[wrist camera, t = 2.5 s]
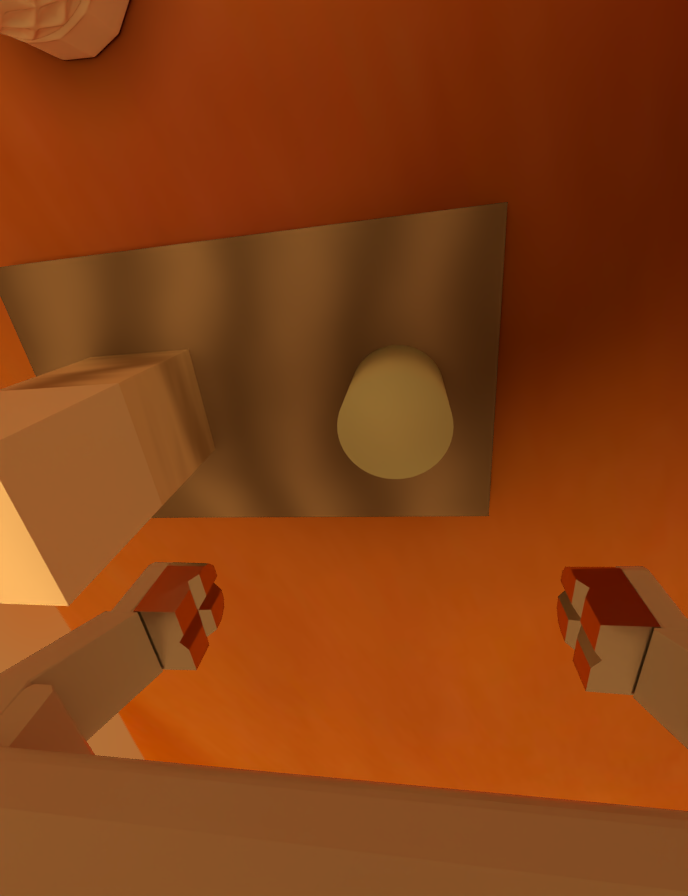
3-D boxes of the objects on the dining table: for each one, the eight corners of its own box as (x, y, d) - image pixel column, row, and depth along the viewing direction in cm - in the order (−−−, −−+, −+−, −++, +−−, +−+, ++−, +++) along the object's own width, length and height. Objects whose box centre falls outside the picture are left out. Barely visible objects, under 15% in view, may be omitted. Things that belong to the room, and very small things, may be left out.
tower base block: (188, 349, 22) (118, 383, 17) (215, 449, 24) (162, 505, 19) (90, 357, 23) (-5, 391, 18) (126, 452, 26) (52, 506, 20)
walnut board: (500, 204, 18) (507, 201, 17) (484, 501, 25) (488, 516, 24) (12, 267, 23) (-12, 268, 21) (112, 505, 30) (99, 517, 28)
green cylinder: (443, 341, 20) (454, 369, 15) (443, 430, 22) (452, 478, 18) (346, 348, 21) (330, 377, 16) (355, 434, 23) (343, 480, 18)
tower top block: (118, 383, 17) (-18, 448, 11) (162, 505, 19) (68, 605, 14) (-5, 391, 18) (-184, 454, 12) (52, 506, 20) (-75, 600, 15)
